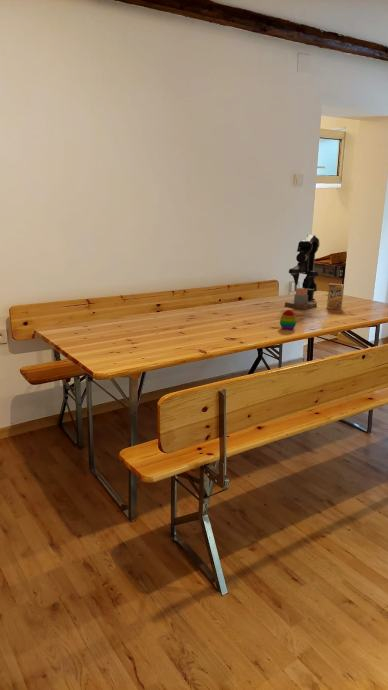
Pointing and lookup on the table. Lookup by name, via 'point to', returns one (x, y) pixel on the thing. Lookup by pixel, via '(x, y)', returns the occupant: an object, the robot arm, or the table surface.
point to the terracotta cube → (301, 291)
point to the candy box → (335, 296)
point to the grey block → (300, 299)
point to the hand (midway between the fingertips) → (302, 286)
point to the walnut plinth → (301, 305)
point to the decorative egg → (288, 320)
